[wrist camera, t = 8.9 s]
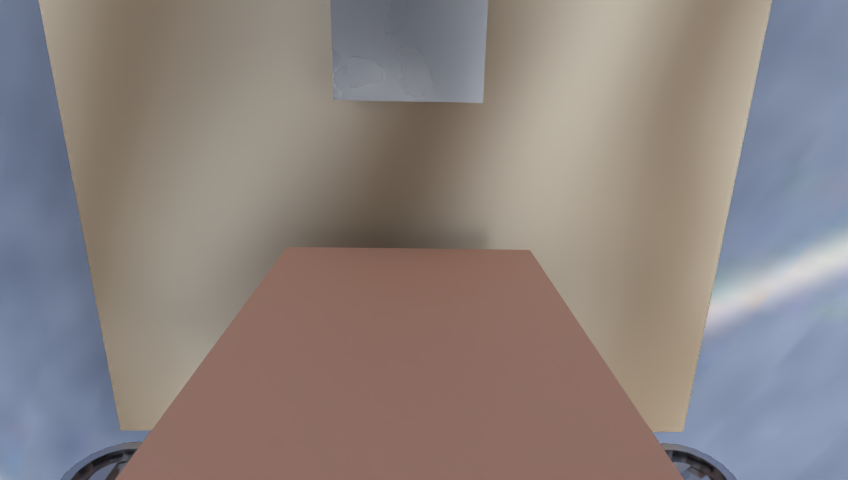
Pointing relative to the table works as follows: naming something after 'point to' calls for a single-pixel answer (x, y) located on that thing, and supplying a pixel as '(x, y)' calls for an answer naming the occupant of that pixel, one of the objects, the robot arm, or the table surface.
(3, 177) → the table surface
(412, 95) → the silver gray cube
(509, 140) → the board
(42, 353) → the table surface
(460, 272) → the salmon pink toy brick
